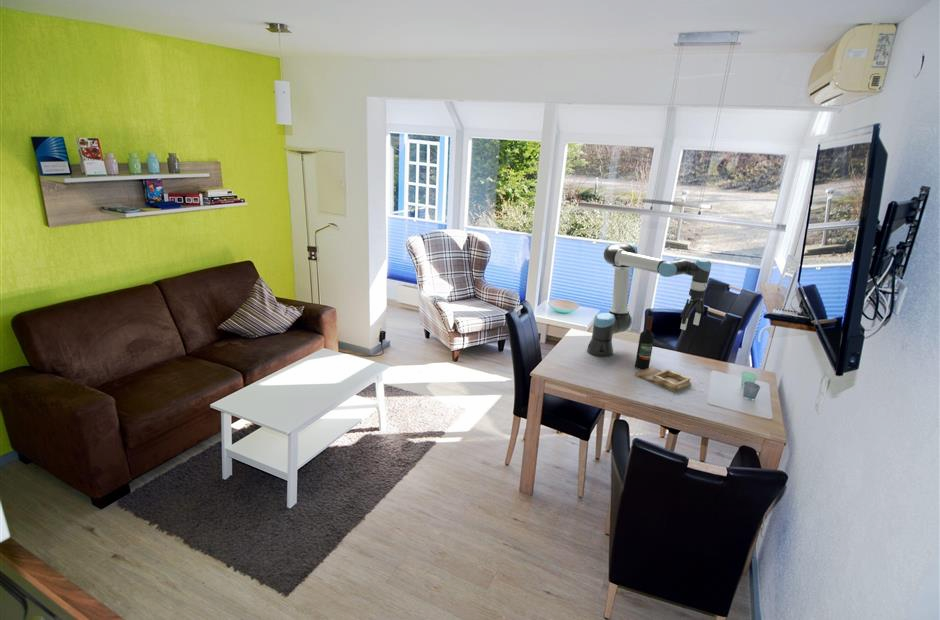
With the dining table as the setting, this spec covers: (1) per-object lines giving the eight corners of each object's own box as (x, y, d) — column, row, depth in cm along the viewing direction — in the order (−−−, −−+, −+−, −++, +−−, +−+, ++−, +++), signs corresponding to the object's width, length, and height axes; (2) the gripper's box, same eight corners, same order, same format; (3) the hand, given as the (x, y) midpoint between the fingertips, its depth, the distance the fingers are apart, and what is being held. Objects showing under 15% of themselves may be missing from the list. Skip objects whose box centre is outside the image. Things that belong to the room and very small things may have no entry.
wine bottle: (647, 364, 290) (655, 315, 281) (650, 370, 283) (659, 320, 273) (633, 363, 291) (641, 314, 281) (636, 369, 284) (645, 318, 274)
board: (634, 374, 276) (635, 368, 275) (650, 368, 286) (652, 362, 285) (674, 392, 258) (676, 385, 257) (690, 384, 268) (692, 378, 267)
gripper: (692, 294, 252) (683, 333, 259) (716, 287, 268) (707, 324, 275) (678, 290, 258) (670, 329, 265) (702, 284, 273) (694, 320, 280)
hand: (689, 327), depth 270 cm, fingers open, 13 cm apart
